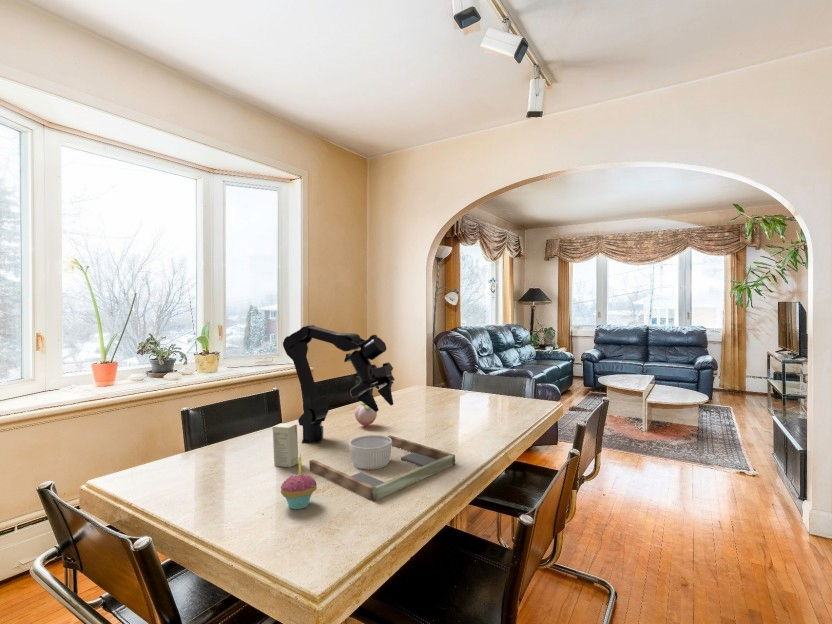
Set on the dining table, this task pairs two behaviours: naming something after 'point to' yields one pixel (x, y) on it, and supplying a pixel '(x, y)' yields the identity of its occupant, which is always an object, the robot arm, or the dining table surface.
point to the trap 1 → (367, 479)
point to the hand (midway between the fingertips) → (385, 408)
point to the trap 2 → (418, 459)
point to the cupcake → (298, 489)
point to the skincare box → (285, 445)
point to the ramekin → (370, 451)
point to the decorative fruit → (365, 415)
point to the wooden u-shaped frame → (390, 486)
